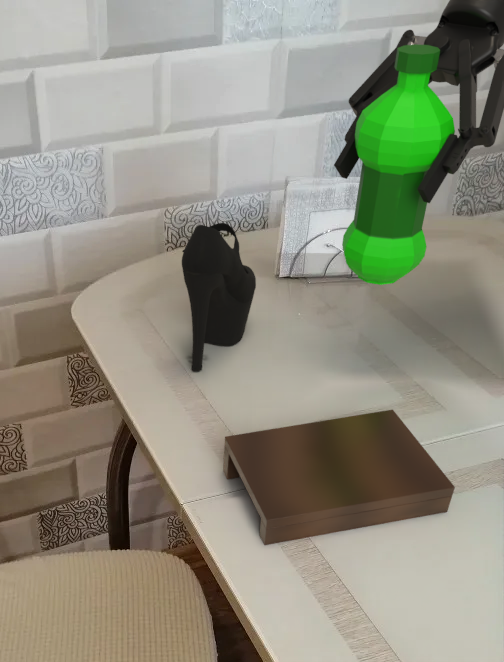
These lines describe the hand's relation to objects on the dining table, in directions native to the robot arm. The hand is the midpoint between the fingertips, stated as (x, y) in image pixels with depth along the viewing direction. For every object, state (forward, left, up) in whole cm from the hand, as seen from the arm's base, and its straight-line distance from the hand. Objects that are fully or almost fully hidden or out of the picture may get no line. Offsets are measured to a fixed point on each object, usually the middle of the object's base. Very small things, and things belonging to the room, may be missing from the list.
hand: (380, 183), depth 89 cm
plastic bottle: (-3, -1, -12) cm, 13 cm away
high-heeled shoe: (+15, -11, -25) cm, 31 cm away
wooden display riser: (+12, +23, -25) cm, 36 cm away
